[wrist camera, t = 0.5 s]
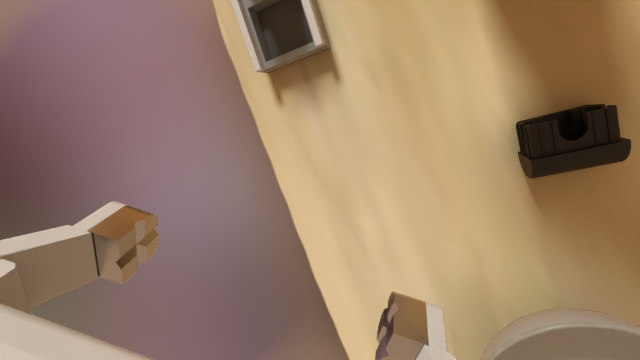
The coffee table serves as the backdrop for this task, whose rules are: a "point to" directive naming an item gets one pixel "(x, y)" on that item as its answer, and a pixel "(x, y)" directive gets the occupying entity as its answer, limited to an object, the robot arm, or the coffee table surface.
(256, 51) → the lane
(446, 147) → the coffee table surface
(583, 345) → the decorative bowl
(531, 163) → the end cap
